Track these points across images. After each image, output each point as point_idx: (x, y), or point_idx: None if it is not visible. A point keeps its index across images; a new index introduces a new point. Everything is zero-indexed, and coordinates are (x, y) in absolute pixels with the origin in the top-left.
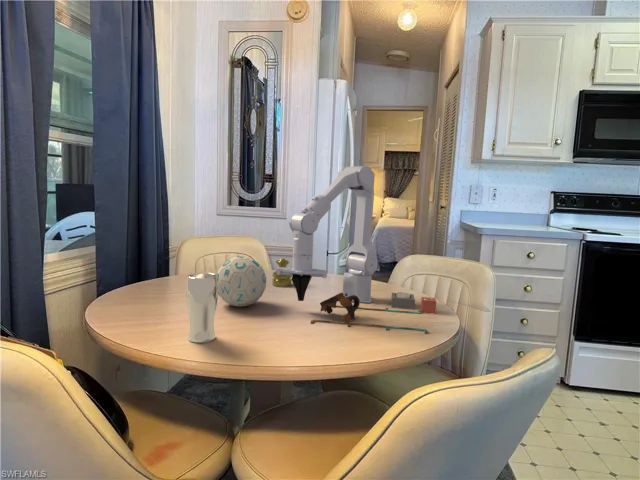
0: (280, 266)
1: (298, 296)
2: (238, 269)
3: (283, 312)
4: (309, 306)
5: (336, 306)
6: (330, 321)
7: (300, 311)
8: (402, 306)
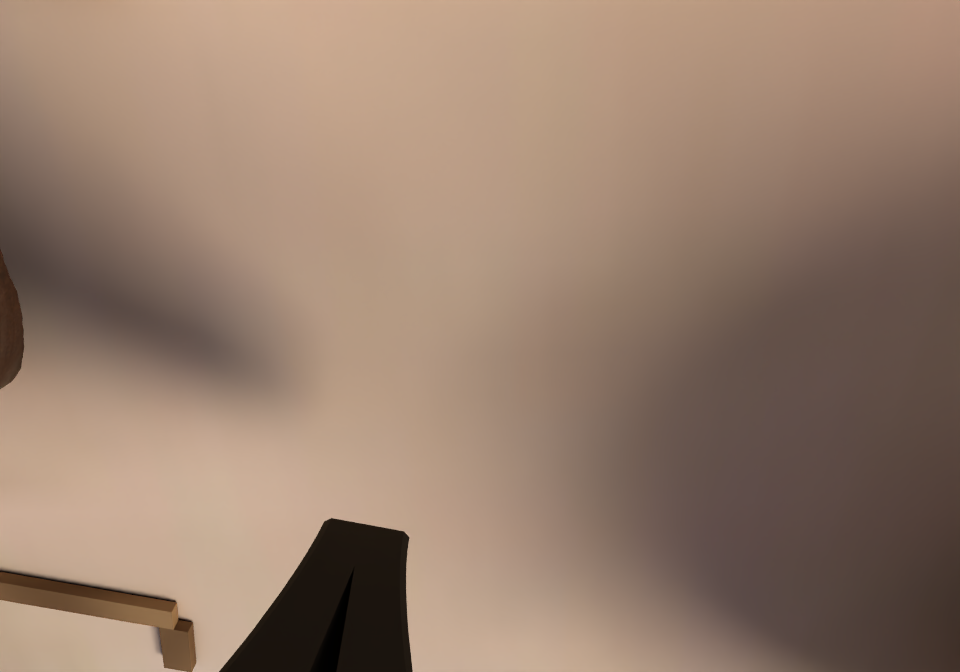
0: None
1: (386, 589)
2: None
3: (641, 384)
4: None
5: (2, 580)
6: None
7: (400, 430)
8: None
